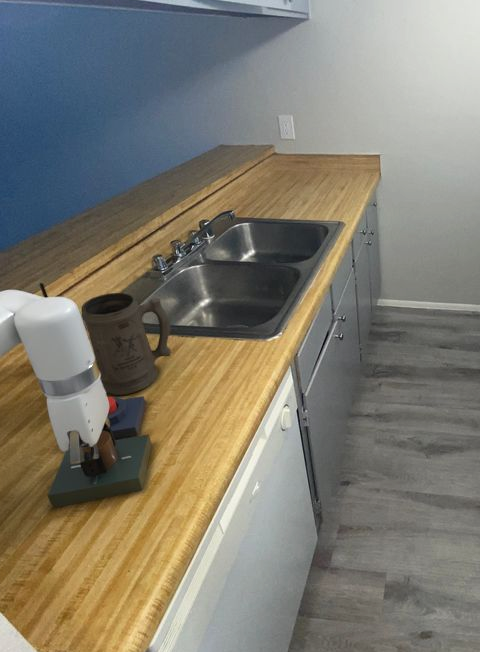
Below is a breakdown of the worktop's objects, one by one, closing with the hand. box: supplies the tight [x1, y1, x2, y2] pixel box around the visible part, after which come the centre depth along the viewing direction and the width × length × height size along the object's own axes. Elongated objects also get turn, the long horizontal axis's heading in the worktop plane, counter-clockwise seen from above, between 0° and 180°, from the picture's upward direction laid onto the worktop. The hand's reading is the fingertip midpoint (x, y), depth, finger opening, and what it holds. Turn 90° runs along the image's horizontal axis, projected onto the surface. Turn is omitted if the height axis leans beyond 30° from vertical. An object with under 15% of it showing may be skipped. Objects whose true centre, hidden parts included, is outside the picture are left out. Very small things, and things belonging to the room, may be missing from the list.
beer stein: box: [80, 292, 172, 396], centre depth 101 cm, size 15×11×20 cm
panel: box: [47, 433, 153, 509], centre depth 81 cm, size 13×10×3 cm
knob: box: [82, 431, 118, 469], centre depth 79 cm, size 5×5×5 cm
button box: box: [107, 395, 147, 440], centre depth 91 cm, size 11×9×4 cm
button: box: [107, 396, 117, 415], centre depth 90 cm, size 4×4×2 cm
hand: (101, 459), depth 80 cm, fingers open, 5 cm apart
